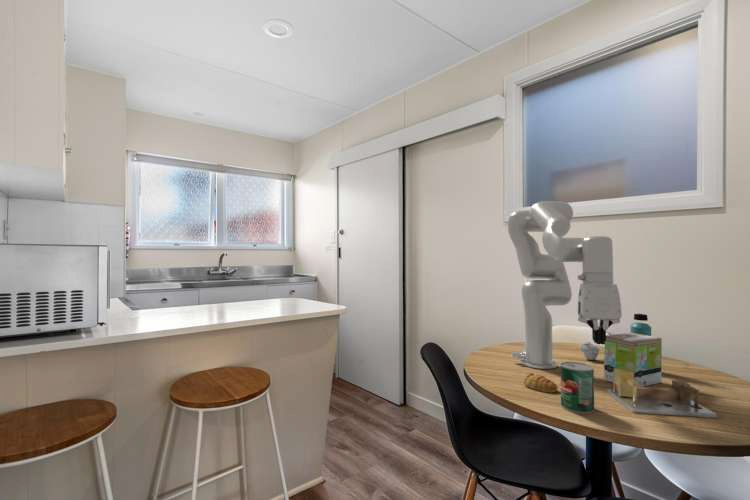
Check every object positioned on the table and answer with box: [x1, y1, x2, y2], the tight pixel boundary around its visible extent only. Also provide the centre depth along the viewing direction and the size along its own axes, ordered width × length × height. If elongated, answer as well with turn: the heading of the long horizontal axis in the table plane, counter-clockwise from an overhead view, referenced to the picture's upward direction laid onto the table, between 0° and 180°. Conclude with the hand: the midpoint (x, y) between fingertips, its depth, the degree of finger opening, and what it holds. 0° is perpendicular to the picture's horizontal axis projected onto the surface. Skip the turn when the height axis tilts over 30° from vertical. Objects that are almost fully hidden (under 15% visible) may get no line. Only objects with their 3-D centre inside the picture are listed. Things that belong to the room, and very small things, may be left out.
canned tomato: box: [559, 361, 595, 415], centre depth 98 cm, size 8×8×11 cm
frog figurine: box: [579, 341, 600, 361], centre depth 146 cm, size 6×7×7 cm
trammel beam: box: [616, 379, 700, 407], centre depth 101 cm, size 17×8×4 cm, turn 81°
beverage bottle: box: [630, 313, 652, 336], centre depth 133 cm, size 6×7×20 cm
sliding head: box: [613, 368, 638, 403], centre depth 102 cm, size 4×8×7 cm, turn 171°
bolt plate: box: [607, 389, 718, 419], centre depth 100 cm, size 19×14×1 cm
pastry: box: [523, 372, 559, 394], centre depth 113 cm, size 9×7×4 cm
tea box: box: [603, 332, 663, 387], centre depth 120 cm, size 15×10×15 cm, turn 117°
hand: (599, 343), depth 105 cm, fingers closed
